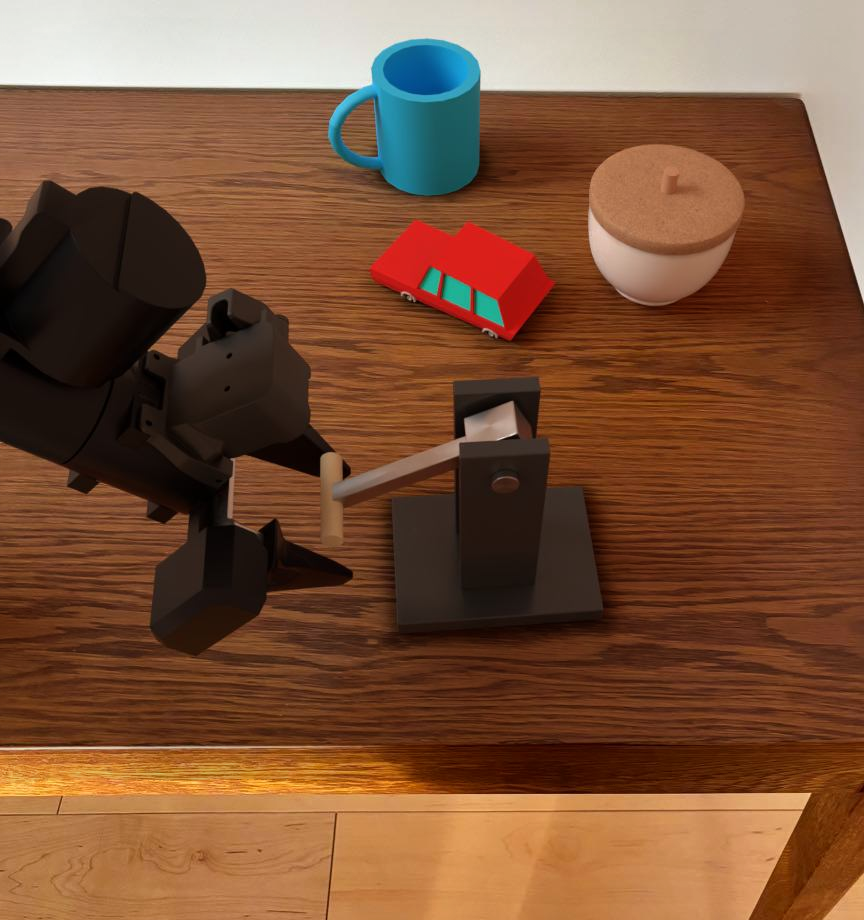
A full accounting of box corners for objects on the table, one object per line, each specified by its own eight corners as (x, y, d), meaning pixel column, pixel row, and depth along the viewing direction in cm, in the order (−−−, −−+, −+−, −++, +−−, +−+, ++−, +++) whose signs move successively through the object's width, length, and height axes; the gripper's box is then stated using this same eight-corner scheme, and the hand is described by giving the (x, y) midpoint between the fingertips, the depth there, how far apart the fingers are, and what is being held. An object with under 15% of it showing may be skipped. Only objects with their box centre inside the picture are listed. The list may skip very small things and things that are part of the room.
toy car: (418, 236, 78) (416, 192, 74) (555, 294, 75) (560, 251, 71) (370, 286, 74) (366, 243, 71) (512, 349, 71) (515, 307, 68)
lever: (334, 555, 54) (309, 534, 52) (333, 473, 57) (310, 450, 55) (540, 485, 51) (521, 460, 49) (527, 401, 54) (509, 375, 52)
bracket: (398, 634, 59) (382, 496, 47) (392, 507, 64) (376, 354, 52) (601, 619, 60) (634, 481, 48) (580, 496, 65) (605, 343, 53)
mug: (461, 124, 85) (461, 31, 78) (492, 184, 81) (495, 91, 74) (322, 150, 83) (309, 55, 76) (346, 213, 79) (335, 119, 72)
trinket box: (630, 348, 72) (651, 243, 64) (552, 256, 77) (562, 149, 69) (750, 298, 75) (783, 193, 67) (667, 213, 80) (690, 106, 72)
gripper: (160, 491, 37) (460, 614, 48) (193, 169, 47) (435, 327, 58) (19, 610, 43) (312, 697, 53) (76, 302, 53) (314, 424, 64)
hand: (347, 525), depth 57 cm, fingers open, 7 cm apart
